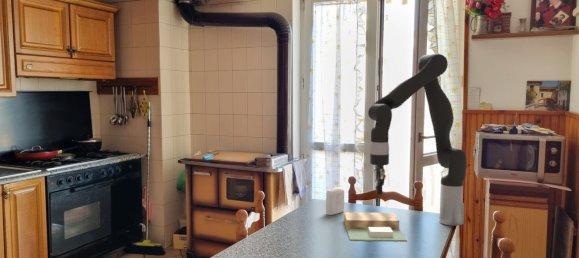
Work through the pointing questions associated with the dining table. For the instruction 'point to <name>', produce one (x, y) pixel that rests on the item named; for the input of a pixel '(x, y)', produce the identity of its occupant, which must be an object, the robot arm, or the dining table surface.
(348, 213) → the board
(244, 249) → the dining table surface
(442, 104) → the robot arm
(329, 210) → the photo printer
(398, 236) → the sage mat
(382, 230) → the cream tile
